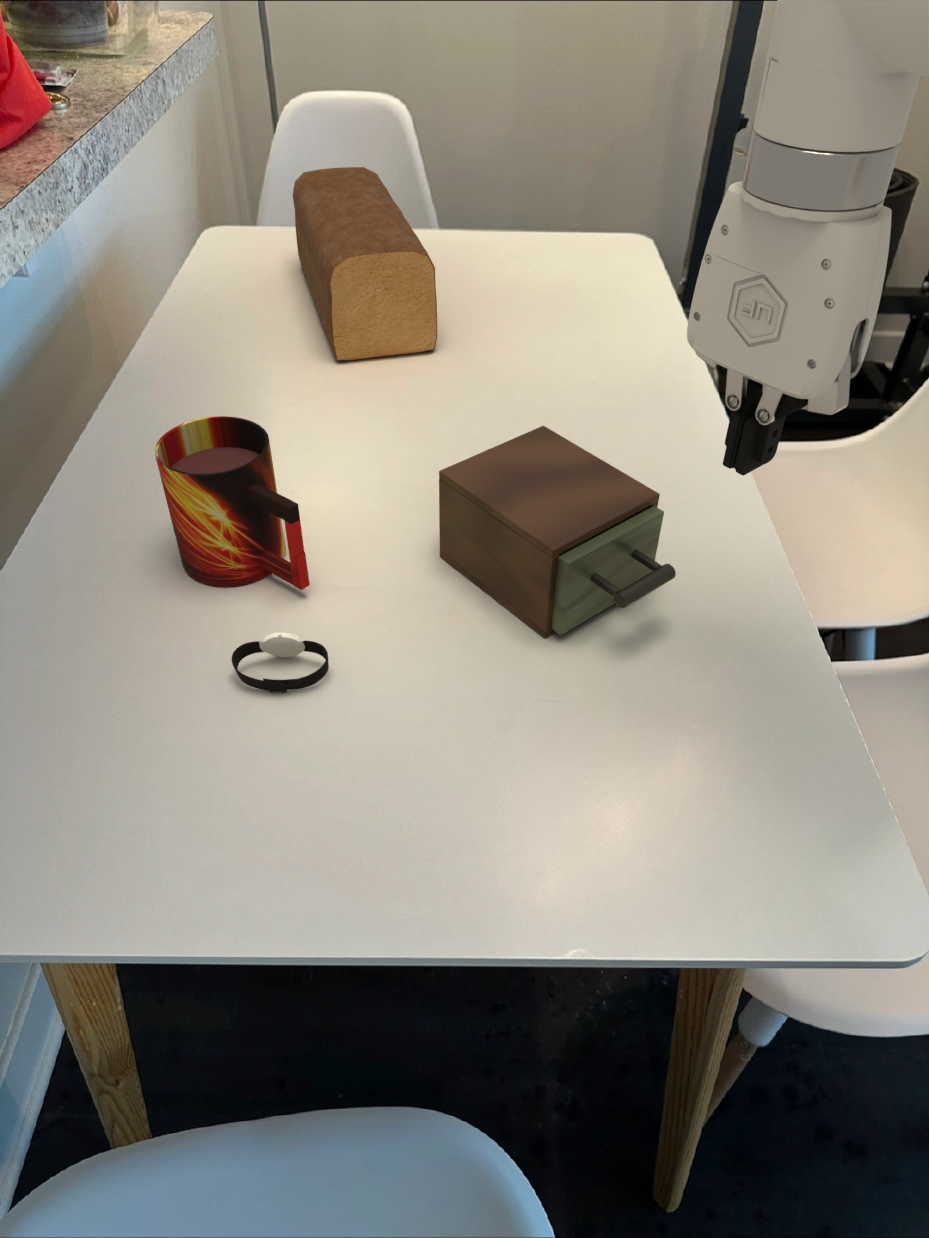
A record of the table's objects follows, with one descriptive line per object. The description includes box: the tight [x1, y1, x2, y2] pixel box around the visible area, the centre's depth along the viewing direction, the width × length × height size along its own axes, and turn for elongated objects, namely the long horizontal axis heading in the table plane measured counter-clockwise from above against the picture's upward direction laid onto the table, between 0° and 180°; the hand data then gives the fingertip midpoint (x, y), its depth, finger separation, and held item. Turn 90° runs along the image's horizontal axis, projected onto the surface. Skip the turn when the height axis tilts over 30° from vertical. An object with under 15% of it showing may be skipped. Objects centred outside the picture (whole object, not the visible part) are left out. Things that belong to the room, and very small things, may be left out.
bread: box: [292, 166, 438, 362], centre depth 124 cm, size 14×34×14 cm, turn 15°
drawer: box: [551, 506, 677, 636], centre depth 80 cm, size 18×11×8 cm, turn 39°
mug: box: [154, 415, 310, 591], centre depth 82 cm, size 10×14×12 cm
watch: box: [231, 631, 330, 693], centre depth 74 cm, size 8×5×4 cm, turn 92°
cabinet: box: [438, 425, 660, 639], centre depth 82 cm, size 15×13×10 cm
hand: (746, 463), depth 61 cm, fingers closed
